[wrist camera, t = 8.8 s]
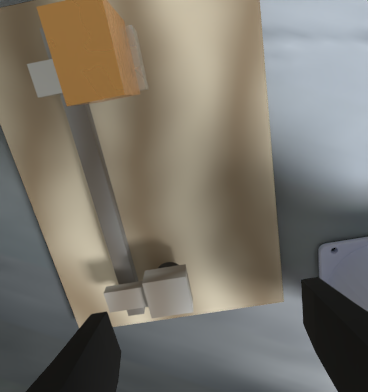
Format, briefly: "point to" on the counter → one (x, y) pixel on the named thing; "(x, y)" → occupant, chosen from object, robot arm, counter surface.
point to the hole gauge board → (153, 165)
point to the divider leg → (88, 54)
